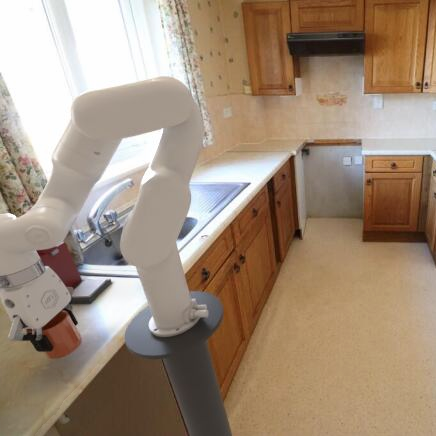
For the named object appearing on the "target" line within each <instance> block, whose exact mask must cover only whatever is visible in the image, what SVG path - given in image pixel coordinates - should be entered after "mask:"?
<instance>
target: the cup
mask: <svg viewBox="0 0 436 436" xmlns="http://www.w3.org/2000/svg"><path fill="white" fill-rule="evenodd" d="M32 334H34V329H32ZM42 336H46V337H47V338H48V340H49V341H50V343H51V345H52V346H53V350H52V351H50V352H43V353H44V355H45V356H46V357H47V358H48V359H51V360H56V359H60V358H64V357H66V356H68V355H69V354H71V353H73V352H74V351H77V349H78V348H79V347H80V346H81V345H82V343H83V337H82V335H81V333H80V331H79V329H78V328H77V325H75V324H74V322H73V320H72V318H71V317H70V315H69V313H68V311H65V310H61V311H60V312H59V313H58V314H57V315H56V316H55V317H53V318H52V319H51V320H50V321H49V322H48V323H47V324H46V325H44V326H43V327H42Z"/></svg>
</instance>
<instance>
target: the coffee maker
mask: <svg viewBox="0 0 436 436" xmlns="http://www.w3.org/2000/svg"><path fill="white" fill-rule="evenodd" d="M58 252H59V251H58V249H55V250H53V251H52V252H50V254H51V256H52V255H55V254H57V253H58ZM112 283H113V282H112V279H111V278H89V279H88V278H87V279H82V280H81V281H80V282H79V283H78V284H76V285H75V286H74V287H73V294H72V297H73V299H72V304H71V305H83V304H84V305H85V304H89V305H90V304H92V303H93V302H94V301H95V300H96V299H97V298H98V297H99V296H100V295H101V294H102V293H103V292H104V291H105V290H106V289H108V288H109V286H110V285H111V284H112Z"/></svg>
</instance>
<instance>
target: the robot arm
mask: <svg viewBox="0 0 436 436" xmlns="http://www.w3.org/2000/svg"><path fill="white" fill-rule="evenodd" d="M159 130H161V131H160V134H159V137H158V140H157V143H156V146H155V150H154V152H153V155H152V157H151V160H150V162H149V165H148V167H147V169H146V171H145V173H144V175H143V176H142V178H141V180H140V184H139V190H138V194H137V197H136V199H135V202H134V205H133V208H132V210H131V211H130V212H129V213H128V215H127V216H126V217H125V219H124V222H123V225H122V230H121V235H120V239H119V250H120V253H121V255H122V257H123V259H124V260H125V261H126V262H127V263H128V264H130V265H132V266H133V267H135V269H136V273H137V275H138V278H139V281H140V284H141V287H142V290H143V292H144V295H145V299H146V302H147V305H148V306H149V307H150V310H151V313H152V317H151V319H150V321H149V329H150V331H151V333H152V334H153V335H155V336H159V337H171V336H175V335H178V334H181V333H183V332H185V331H187V330H188V329H190V328H191V327H193V326H194V325H195V324H196V323H197V322H198V320H199V319H200V318H207V317H208V314H209V312H208V310H206V309H207V305H198V304H197V303H196V299H191V296H190V293H189V291H190V289H189V286H188V283H187V279H186V275H185V274H186V273H185V272H184V267H183V263H182V260H181V255H180V252H179V248H178V244H177V240H178V238H179V236H180V233H181V231H182V230H183V229H182V228H183V227H184V224H185V222H186V219H187V217H188V214H189V211H190V208H191V203H192V192H191V188H190V182H191V179H192V177H193V174H194V172H195V168H196V166H197V162H198V160H199V157H200V155H201V151H202V149H203V144H204V139H205V124H204V119H203V116H202V113H201V109H200V107H199V105H198V103H197V102H196V100H195V98H194V97H193V95H192V92H191V91H190V89H189V88H188V86H187V85H186V84H185V83H183V82H182V81H181V80H179V79H177V78H175V77H172V76H167V75H163V76H157V77H154V78H153V77H152V78H149V79H143V80H139V81H135V82H130V83H125V84H122V85H121V84H120V85H117V86H110V87H105V88H95V89H90V90H85V91H84V92H82V93H80V94H79V95H77V96H76V97H75V99H74V100H73V101H72V104H71V107H70V119H69V122H68V123H67V126H66V128H65V130H64V131H63V134H62V135H61V138H60V139H59V140H58V143H57V144H56V147H55V148H54V149H53V152H52V155H51V163H52V170H51V173H50V176H49V178H48V180H47V183H46V184H45V186H44V188H43V190H42V192H41V194H40V195H39V197H38V199H37V201H36V202H35V204H34V205H33V206H32V207H30V208H29V210H27V212H26V213H24V214H22V215H21V216H20V215H19V217H17V216H16V215H14V214H12V213H7V212H6V213H0V301H1V304H2V305H3V308H4V310H5V312H6V314H7V316H8V318H9V319H10V321H11V327H10V330H9V333H8V336H7V340H8V342H9V341H10V342H13V341H14V342H30V344H31V345H32V346H33V348H34V349H35V351H36V352H38V353H44V352H50V351H52V350H53V346H52V345H51V343H50V341H49V340H48V338H47V337H46V336H42V327H43V326H44V325H46V324H47V323H48V322H49V321H50V320H51V319H52V318H53V317H55V316H56V315H57V314H58V313H59V312H60V311H61V310H65V311H68V313H69V315H70V317H71V318H72V320H73V322H74V324H75V326H77V325H79V322H78V320H77V318H76V316H75V314H74V313H73V309H74V305H73V304H72V299H73V297H72V294H73V287H65V285H64V284H63V282H62V281H61V279H60V278H59V277H58V275H57V274H56V273H55V272H54V271H53V270H52V269H51V268H50V267H49V266H44V264H43V262H42V260H41V259H40V257H39V255H38V253H37V251H36V250H43V249H49V248H53V247H55V246H57V245H59V244H60V243H61V242H62V241H63V240H64V239H65V237H66V236H67V234H68V232H69V230H70V228H71V227H72V228H73V225H74V224H75V222H76V220H77V218H78V216H79V214H80V212H81V210H82V208H83V207H84V205H85V203H86V201H87V199H88V197H89V195H90V194H91V192H92V191H93V189H94V187H95V186H96V184H97V183H98V182H99V181H101V179H102V177H103V175H104V173H105V172H106V170H107V168H108V166H109V165H110V162H111V161H112V159H113V157H114V155H115V153H116V151H117V150H118V148H119V146H120V144H121V143H122V140H123V139H127V138H133V137H136V136H137V137H138V136H141V135H144V134H148V133H152V132H157V131H159ZM32 329H34V334H32ZM22 331H23V333H22Z"/></svg>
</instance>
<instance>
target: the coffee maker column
mask: <svg viewBox="0 0 436 436" xmlns="http://www.w3.org/2000/svg"><path fill="white" fill-rule="evenodd" d="M55 249H58V251H59V252H58V253H57V254H55V255H52V256H51V254H50V252H52V251H53V250H55ZM36 251H37V253H38V255H39V257H40V259H41V260H42V262H43V264H44V266H49V267H50V268H51V269H52V270H53V271H54V272H55V273H56V274H57V275H58V277H59V278H60V279H61V281H62V282H63V284H64V285H65V287H74V286H75V285H76V284H78V283H79V282H80V281H81V280H83V279H82V276H81V274H80V273H79V269H78V267H77V265H75V263H74V261H73V258H72V256H71V254H70V251H69V249H68V247H67V245H66V242H61V243H60V244H59V245H57V246H55V247H53V248H49V249H43V250H36Z"/></svg>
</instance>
